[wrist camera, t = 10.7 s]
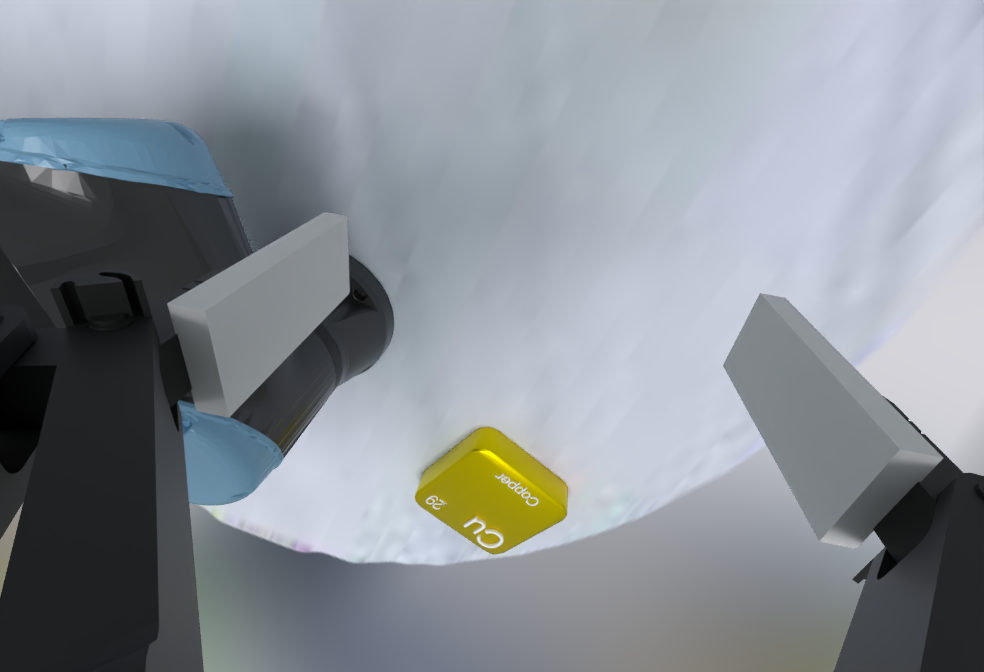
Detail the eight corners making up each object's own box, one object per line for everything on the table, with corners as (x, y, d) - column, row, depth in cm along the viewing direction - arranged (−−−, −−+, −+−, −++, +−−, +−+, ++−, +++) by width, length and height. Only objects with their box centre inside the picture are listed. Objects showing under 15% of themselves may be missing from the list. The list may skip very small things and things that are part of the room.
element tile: (575, 487, 57) (574, 518, 53) (499, 531, 64) (493, 562, 60) (487, 419, 54) (479, 447, 50) (418, 474, 61) (406, 502, 57)
